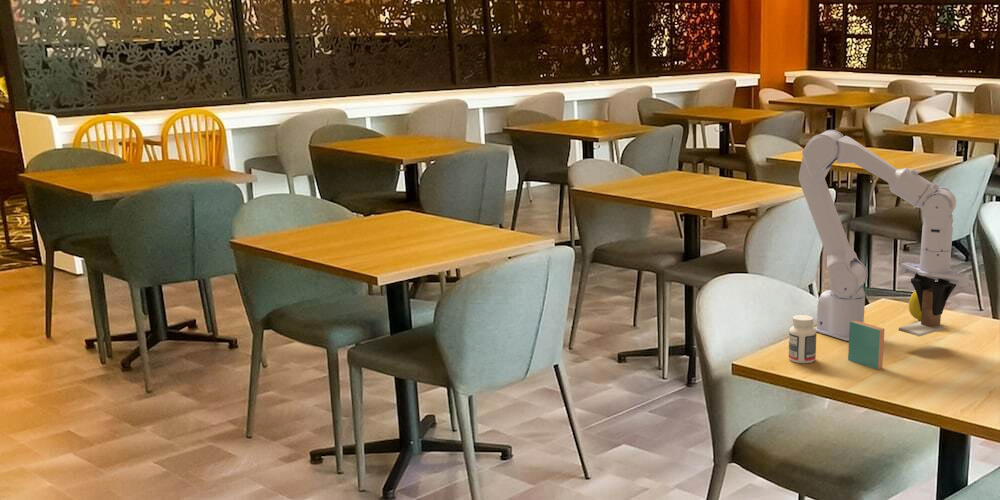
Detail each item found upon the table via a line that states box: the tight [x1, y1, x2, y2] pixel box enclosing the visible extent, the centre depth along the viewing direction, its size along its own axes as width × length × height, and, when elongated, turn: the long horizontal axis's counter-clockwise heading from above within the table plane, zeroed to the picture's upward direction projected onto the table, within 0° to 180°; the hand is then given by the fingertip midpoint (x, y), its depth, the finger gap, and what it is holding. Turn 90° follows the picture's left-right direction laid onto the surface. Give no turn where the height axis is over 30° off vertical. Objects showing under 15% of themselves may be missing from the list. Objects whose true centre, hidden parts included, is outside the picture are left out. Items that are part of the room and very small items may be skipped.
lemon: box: [908, 290, 922, 322], centre depth 229 cm, size 6×6×8 cm
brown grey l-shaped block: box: [898, 288, 946, 337], centre depth 212 cm, size 5×8×8 cm, turn 122°
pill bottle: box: [788, 314, 817, 364], centre depth 207 cm, size 5×5×9 cm
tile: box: [847, 320, 885, 370], centre depth 204 cm, size 7×2×8 cm, turn 32°
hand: (931, 312), depth 213 cm, fingers closed on brown grey l-shaped block, 2 cm apart
